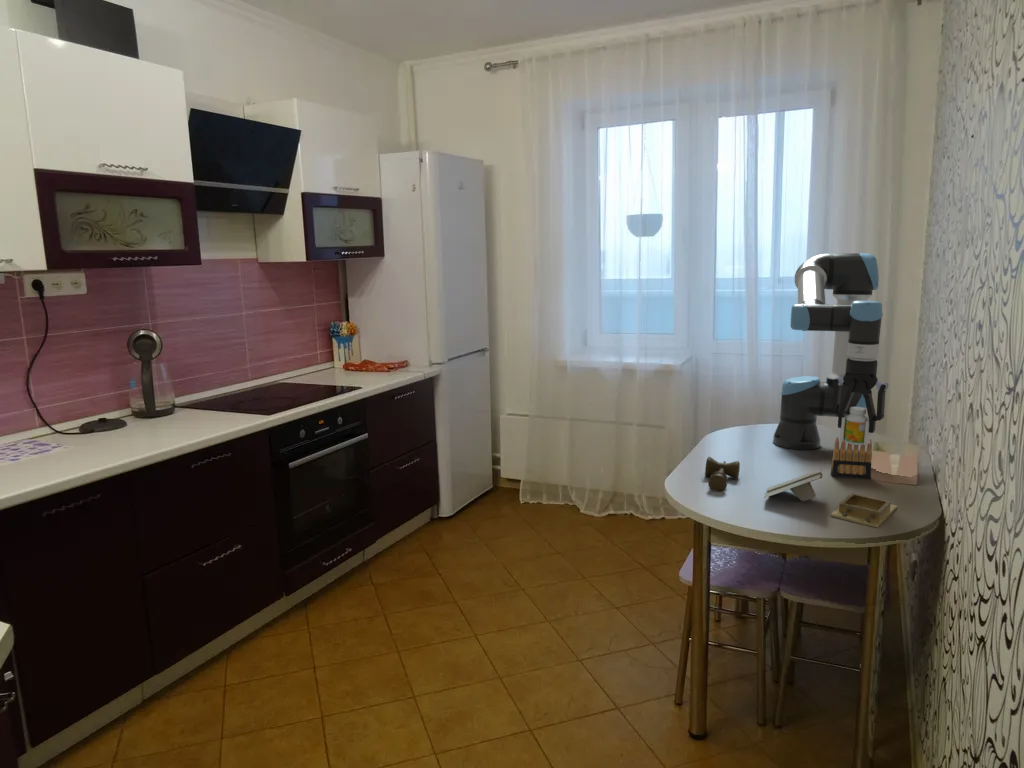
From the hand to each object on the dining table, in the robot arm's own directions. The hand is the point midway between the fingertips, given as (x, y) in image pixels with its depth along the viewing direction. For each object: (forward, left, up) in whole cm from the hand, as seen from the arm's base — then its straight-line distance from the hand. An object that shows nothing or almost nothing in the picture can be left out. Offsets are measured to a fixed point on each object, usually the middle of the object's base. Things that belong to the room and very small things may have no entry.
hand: (854, 441), depth 191 cm
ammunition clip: (-13, -4, -15) cm, 20 cm away
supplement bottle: (0, 0, -1) cm, 1 cm away
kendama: (+15, -32, -15) cm, 38 cm away
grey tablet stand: (+16, -10, -15) cm, 24 cm away
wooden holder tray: (+14, +8, -15) cm, 21 cm away
